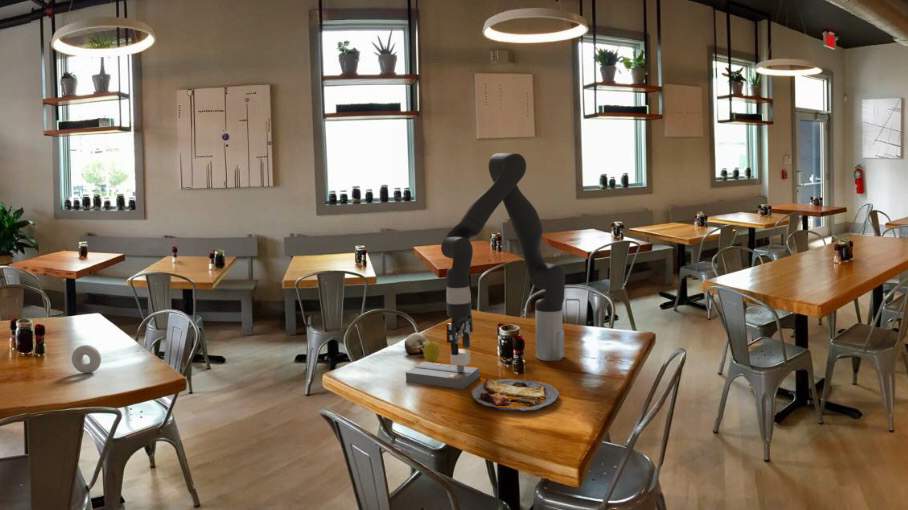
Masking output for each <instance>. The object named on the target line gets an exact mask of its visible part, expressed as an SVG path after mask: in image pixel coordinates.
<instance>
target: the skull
mask: <svg viewBox="0 0 908 510" xmlns="http://www.w3.org/2000/svg"><path fill="white" fill-rule="evenodd" d="M428 342H430V341H429V340H428V339H427V337H426V336H424V335H423V333H420V332H414V333H411V334H409V335H408V336H407V337H406V339H405V341H404V351H403V353H405V354H407V357H408V358H421V357H424V347H425V345H426V344H427V343H428Z"/></svg>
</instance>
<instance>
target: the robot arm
mask: <svg viewBox="0 0 908 510" xmlns="http://www.w3.org/2000/svg"><path fill="white" fill-rule="evenodd" d="M526 170H527V162H526V160H525V157H524V156H522V154H519V153H515V152H497V153H495V154H492V156H491V157H490V159H489V161H488V171H489V174H490V175H489V176H490V178H491V180H492V182H493V184H491V186H490V187H489V188H488V189H487V190H486V191H484V193H482V194H481V195H480V196H479V197H477V198H476V199H475V200H474V201H473V202H472V203H471V204H470V205H469V207H468V209H467V210H466V211H465V213H464V214H463V216H462V218H461V219H460V221H459V222H458V223H457V224H455V226H454V227H453V228H452V229H450V231H449V232H448V233H447V234H446V235H445V236H444V238H443V240H442V241H441V246H440V249H441V250H440V251H441V253H442V255H443V257H445V258H448V259H451V260H452V264H451V267H448V268H447V270H446V293H445V295H446V297H445V298H446V314H447V316H448V317H449V318H451V322H450V323H449V322H447V323H446V324H445V325H446V343H447V344H448V343H449V344H450V352H451V354H452V355H458V354H459V350H458V349H459V340H460V338H462V339H461V340H462V347H463V348H466V349H467V348H470V345H471V341H470V336H471V333H473V331H474V327H473V315H472V298H471V296H472V295H471V289H470V269H471V264H472V259H473V254H474V253H473V251H474V250H473V245H472V242H471V240H469V239H471V238H474V237H477V236H478V235H479V234H480V232H482V230H483V228H484V227H485V225H486V224H487V222H488V221H489V219H490V217H491V216H492V214H493V213H494V212H495V210H496V209H497V208H498V207H499V205H500V204H501V203H502V202H503V204H504V207H505V209H506V212H507V215H508V217H509V220H510V222H511V223H510V224H511V225H512V228H513V232H514V234H515V237H516V238H517V241H518V244H519V247H520V249H521V250H520V251H521V252H522V254H523V258H524V262H525V265H526V269H527V273H528V274H527V275H528V277H529V280H530V282H531V284H532V286H533V287H535V288H536V289H538V290H544V291H545V293H544V297H543V298H540V299H537V300H536V301H535V308H534V309H535V317H534V318H535V358H537V360H541V361H546V362H547V361H548V362H550V361H558V362H559V361H560V360H562V359H563V358H564V357H565V330H564V329H563V303H564V301H565V289H566V286H565V285H566V274H565V273H566V272H565V270H564V268H563V267H562V266H561V264H557V263H555V264H554V263H548V262H545V260H544V258H543V256H542V252H541V248H540V246H541V242H542V237H543V234H544V233H543V232H544V230H543V224H542V222H541V220H540V216H539V214H538V211H537V209H536V208H535V207H534V205H533V204H532V203H531V202H530V201H529V199H527V197H526V196H525V195H524V194H523V192H522V191H521V189H520V188H519V187H518V184H519V182H520V181H521V180H522V179H523V177H524V175H525V173H526V172H527V171H526Z"/></svg>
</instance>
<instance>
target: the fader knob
mask: <svg viewBox="0 0 908 510" xmlns="http://www.w3.org/2000/svg"><path fill="white" fill-rule="evenodd" d="M458 350H459V354H458V355H452V354H451V351H450V352H449V355H450V356H449V357H450V365H457V371H458V372H463V371H464V366H465V367H467V365H469V364H470V363H471V349H467V348H466V349H464V348H458Z"/></svg>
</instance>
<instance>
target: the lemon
mask: <svg viewBox="0 0 908 510" xmlns="http://www.w3.org/2000/svg"><path fill="white" fill-rule="evenodd" d="M440 352H441V351H440V347H439V345H438V343H436V342H435V341H433V340H430V341H429V342H428V343H427V344H426V345H425V347H424V356H423V357H424V359H425V361H426V362H431V363H435V361H437V360H438V359H439V357H440Z"/></svg>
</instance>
